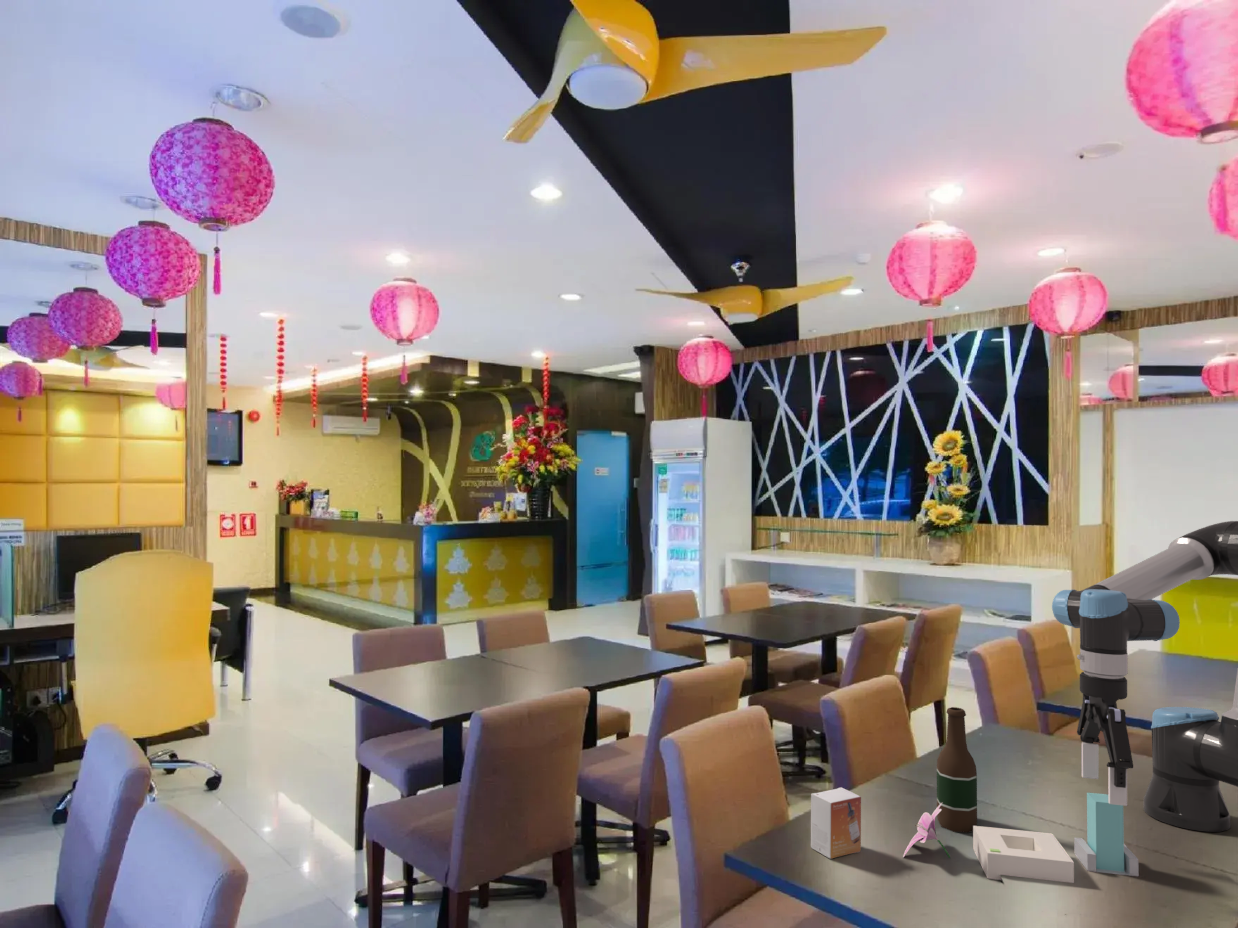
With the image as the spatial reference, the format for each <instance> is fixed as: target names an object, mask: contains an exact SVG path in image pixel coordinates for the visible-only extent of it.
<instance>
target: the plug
mask: <svg viewBox="0 0 1238 928" xmlns="http://www.w3.org/2000/svg"><path fill="white" fill-rule="evenodd" d="M1086 820H1087V821H1086V827H1087V828H1086V831H1087V832H1086V833H1087V836H1086V837H1087V839H1086V840H1087V841H1086V843H1087V844H1088V846H1089V847H1090V848H1091V849H1092V850H1093V852H1094V853H1095V854H1096V869H1104V870H1113V871H1122V872H1124V844H1125V843H1124V842H1125V840H1124V839H1125V838H1124V837H1125V836H1124V835H1125V833H1124V831H1125V830H1124V827H1125V826H1124V824H1125V823H1124V806H1123V805H1113V804H1109V803H1108V794H1106V793H1098V792H1097V793H1096V792H1086Z"/></svg>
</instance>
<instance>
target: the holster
mask: <svg viewBox="0 0 1238 928" xmlns="http://www.w3.org/2000/svg"><path fill="white" fill-rule="evenodd" d="M1073 838H1074V840H1073V841H1074V844H1073V845H1074V847H1073V849H1074V850H1073V851H1074V853H1073V854H1074V855H1075V857H1076V858H1077V859H1078V860H1079V862H1080V863H1081V865H1082V866H1083V867H1084V868H1085V870H1086V871H1087V872H1094V873H1104V874H1114V875H1122V876H1131V877H1139V876H1140V875H1139V871H1140V870H1139V858H1138V857H1137V856H1136V855H1135V854H1134V853H1133V851H1132V850H1130V848H1129V847H1128V846H1127V845H1126V844H1125V843H1124V872H1122V871H1113V870H1104V869H1096V854H1095V853H1094V852H1093V850H1092V849H1091V848H1090V847H1089V846H1088V844H1087V841H1086V840H1084V838H1082V837H1075V836H1074V837H1073Z"/></svg>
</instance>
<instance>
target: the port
mask: <svg viewBox="0 0 1238 928" xmlns="http://www.w3.org/2000/svg"><path fill="white" fill-rule="evenodd" d="M972 837H973V838H972V845H973V846H972V848H973V852H974V853H975V855H976V858H977V860H978V862H979V864H980V866H981V869H982V870H983V873H984V874H985V876H986V879H989V880H996V881H997V880H998V881H1003V879H1002V876H1010V877H1019V878H1026V879H1035V880H1046V881H1054V882H1062V883H1070V884H1074V883H1075V862H1074V860H1073V859H1072V858H1071V856H1070V855H1069V854H1068V853H1067V851H1066V850H1065V848H1064V847H1063V846H1062V844H1061V843H1060V841H1058V839H1057V838H1056V836H1055V835H1054V834H1053V833H1050V832H1042V831H1041V832H1039V831H1031V830H1022V829H1010V828H1001V827H990V826H982V825H981V826H980V825H976V826H973V831H972Z"/></svg>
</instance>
